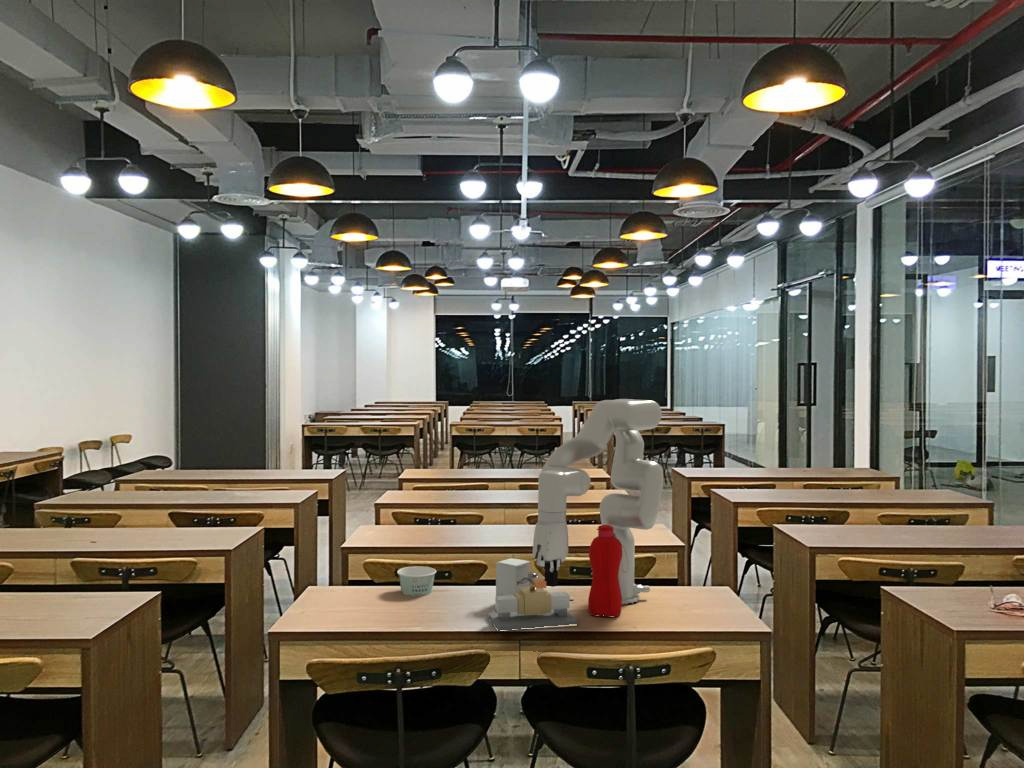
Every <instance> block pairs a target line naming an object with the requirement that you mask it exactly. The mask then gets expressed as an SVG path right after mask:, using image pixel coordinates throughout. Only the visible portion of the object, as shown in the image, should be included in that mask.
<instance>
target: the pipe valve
mask: <svg viewBox="0 0 1024 768" xmlns="http://www.w3.org/2000/svg"><path fill="white" fill-rule="evenodd" d="M494 597H495V598H494V601H495V607H494V608H495V611H496V613H497V612H498V617H499V619H500V620H501V621H510V612H517V614H518V615H521V614H524V615H536V614H546V613H550V612H551V610H553V609H554V613H555V614H556V615H557V616H558V617H567V611H568V609H570V608H571V606H570V604H571V603H570V602H571V601H570V598H571V597H570V594H569V593H567V591H559V592H557V591H556V592H549V591H548V590H546V589H545V588H540V589H537V588H536V587H535V586H534V583H533V582H532V581H530V587H519V592H514V595H506V596H496V595H495V596H494Z"/></svg>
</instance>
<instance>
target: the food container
mask: <svg viewBox="0 0 1024 768" xmlns="http://www.w3.org/2000/svg"><path fill="white" fill-rule="evenodd" d="M396 573H397V575H398V580H399V584H400V591H401V594H402V593H403V594H402V595H404V594H405V596H408V595H412V596H411V597H423V596H427V595H431V593H432V591H433V586H434V581H435V576H436V575H435V574H436V573H437V570H436V568H433V567H430V566H420V565H419V566H417V565H414V566H407V567H406V566H405V567H401V568H399V569H398V570H396ZM422 595H423V596H422Z"/></svg>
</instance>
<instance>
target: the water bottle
mask: <svg viewBox="0 0 1024 768" xmlns="http://www.w3.org/2000/svg"><path fill="white" fill-rule="evenodd" d="M596 530H597V531H598V533H597V535H598V536H596V537H593V540H592V541H591V543H590V545H589V549H588V558H589V563H590V567H591V572H592V573H591V574H592V575H591V576H592V581H591V585H590V589H589V593H588V594H589V595H588V598H587V601H588V603H587V609H588V613H589V614H590V615H591V614H592V615H591V616H593V615H599V616H598V617H602V616H603V615H604V616H616V617H618V616H620V615H621V612H622V607H623V604H622V596H621V591H620V585H619V580H618V573H619V567H620V562H621V558H622V546H623V545H622V544H621V543H620V541H619V540H618V539H617V538H616V536H615V535H616V534H615V533H614V528H613V527H612V526H609V525H602V524H600V525H598V528H596ZM624 550H625V548H624ZM625 553H626V551H625ZM626 557H627V555H626ZM627 562H628V560H627ZM622 571H623V570H622ZM627 571H628V570H627ZM623 572H624V571H623ZM624 573H626V572H624Z"/></svg>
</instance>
